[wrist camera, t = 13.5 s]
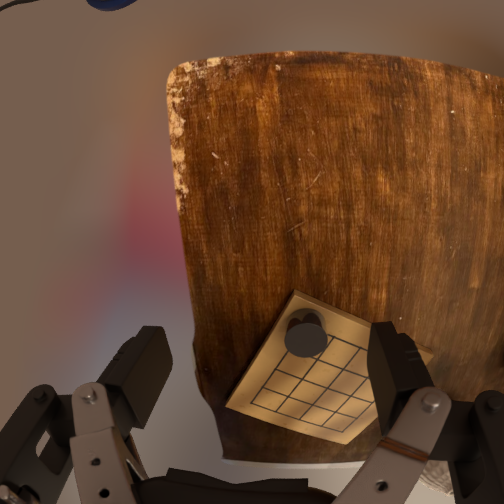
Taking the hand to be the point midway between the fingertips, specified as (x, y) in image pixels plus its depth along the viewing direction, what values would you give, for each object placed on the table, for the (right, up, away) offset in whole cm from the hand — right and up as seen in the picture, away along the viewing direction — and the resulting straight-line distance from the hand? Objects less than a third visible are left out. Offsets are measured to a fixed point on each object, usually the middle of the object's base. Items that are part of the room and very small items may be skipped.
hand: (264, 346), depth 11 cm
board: (+10, -15, +29) cm, 34 cm away
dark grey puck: (+6, -5, +24) cm, 26 cm away
